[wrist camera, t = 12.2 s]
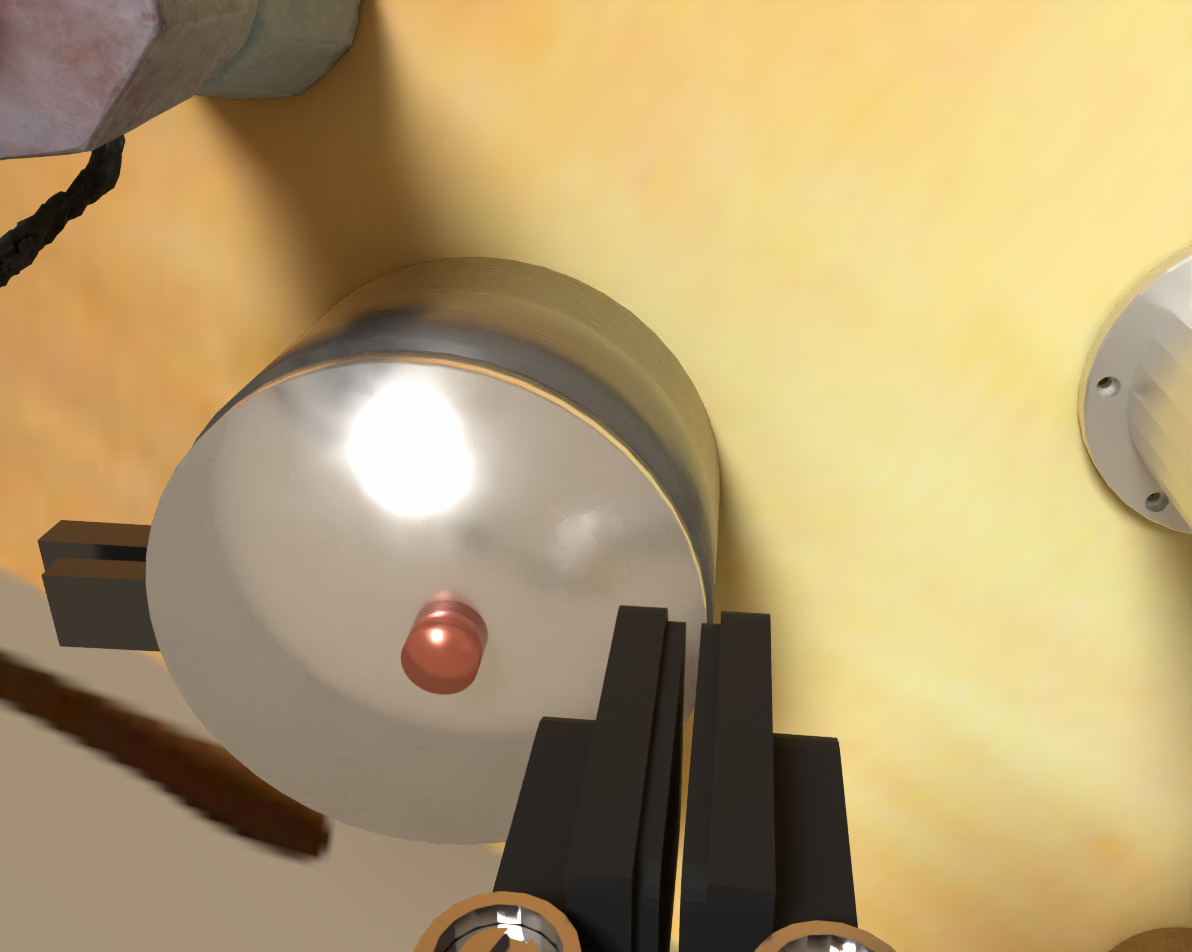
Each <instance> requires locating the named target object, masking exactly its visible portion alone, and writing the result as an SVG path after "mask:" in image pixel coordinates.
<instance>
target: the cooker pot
mask: <svg viewBox="0 0 1192 952" xmlns="http://www.w3.org/2000/svg"><path fill="white" fill-rule="evenodd" d="M385 350H419V351H430V352H441V353H450V354H455V355H460V356H464V357H469V358H473V359H478V360H483V361H487V362H491V363H494V364H496V365H499V366H502V367H505V368H508V369H511V370H514V371H517V372H520V373H522V374H525V375H528V376H530V377H532V378H534V379H536V380H538V381H540V382H542V383H544V384H546V385H548V386H550V387H552V388H554V389H556V390H558V391H561V392H563V393H564V394H566V395H567V396H569V397H570V398H572V399H574V400H575V401H577V402H578V403H580V404H581V405H583V406H584V407H586V408H587V409H589V410H590V411H592V412H594V413H595V414H597V415H598V416H599V417H600V418H601V419H603V420H604V421H605V422H606V423H607V424H608V425H610V426H611V427H612V428H613V429H614V430H616V431H617V432H618V433H619V434H620V435H622V436H623V437H624V438H625V439H626V440H627V441H628V442H629V443H630V444H631V445H632V446H633V447H634V448H635V450H636V451H637V452H638V453H639V454H640V455H641V456H642V457H643V458H644V459H645V460H646V461H647V463H648V464H649V465H650V466H651V467H652V468H653V470H654V471H655V472H656V474H657V475H658V477H659V478H660V480H661V481H662V482H663V484H664V485H665V487H666V488H667V490H668V491H669V492H670V494H671V495H672V497H673V498H674V500H675V502H676V504H677V506H678V508H679V510H680V512H681V514H682V516H683V518H684V520H685V522H686V524H687V526H688V528H689V530H690V533H691V536H692V539H693V542H694V545H695V547H696V550H697V553H698V556H699V559H700V563H701V569H702V574H703V579H704V585H705V590H706V612H707V623H711V624H712V623H713V607H714V590H715V573H716V556H717V538H718V521H719V504H720V466H719V460H718V454H717V448H716V442H715V437H714V434H713V431H712V428H711V425H710V422H709V418H708V415H707V412H706V409H705V407H704V405H703V403H702V401H701V399H700V397H699V395H698V393H697V391H696V389H695V387H694V385H693V383H692V381H691V380H690V378H689V377H688V375H687V374H686V372H685V370H684V369H683V367H682V366H681V364H680V363H679V361H678V360H677V358H676V357H675V356H674V355H673V354H672V352H671V351H670V350H669V349H668V348H667V347H666V345H665V344H664V343H663V342H662V341H661V340H660V339H659V337H658V336H657V335H656V334H655V333H654V332H653V331H652V330H651V329H649V328H648V327H647V326H646V325H645V324H644V323H643V322H642V321H640V320H639V319H638V318H637V317H636V316H635V315H634V314H633V313H632V312H630V311H629V310H627V309H626V308H624V307H623V306H621V305H620V304H618V303H617V302H616V301H614V300H613V299H611V298H610V297H608V296H607V295H605V294H604V293H602V292H600V291H598V290H596V289H594V288H592V287H590V286H588V285H586V284H584V283H582V282H580V281H578V280H577V279H574V278H572V277H569V276H566V275H563V274H561V273H558V272H555V271H552V270H550V269H547V268H544V267H540V266H535V265H531V264H527V263H522V262H518V261H513V260H504V259H494V258H483V257H471V258H447V259H442V260H436V261H430V262H424V263H418V264H415V265H412V266H409V267H406V268H402V269H399V270H396V271H393V272H390V273H388V274H385V275H383V276H381V277H379V278H377V279H375V280H373V281H371V282H369V283H367V284H365V285H363V286H361V287H360V288H358V289H357V290H355V291H354V292H352V293H351V294H349V295H348V296H347V297H345V298H344V299H342V300H341V301H339V302H338V303H337V304H336V305H335V306H334V307H332V308H331V309H330V310H329V311H328V312H327V313H326V314H325V315H324V316H323V317H321V318H320V319H319V320H318V321H317V322H316V323H315V324H314V325H313V326H311V327H310V328H309V329H308V330H307V331H306V332H305V333H304V334H303V335H302V336H300V337H299V338H298V339H297V340H296V341H295V342H294V343H293V344H292V345H291V346H289V347H288V348H287V349H286V350H285V351H284V352H283V353H282V354H281V355H279V356H278V357H277V358H276V359H275V360H274V361H273V362H272V363H271V364H270V365H268V366H267V367H266V368H265V369H264V370H263V371H262V372H261V373H260V374H259V375H257V376H256V377H255V378H254V379H253V380H252V381H251V382H250V383H249V384H247V385H246V386H245V387H244V388H243V389H242V390H241V391H240V392H239V393H238V394H237V395H235V396H234V397H233V398H232V399H231V400H230V401H229V402H228V403H227V404H226V405H225V406H224V407H223V408H222V409H220V410H219V411H218V412H217V413H216V414H215V416H214V417H213V418H212V419H211V421H210V422H209V423H208V425H207V426H206V427H205V429H204V430H203V431H202V432H201V434H200V435H199V436H198V438H197V439H196V441H195V443H196V442H197V440H198V439H199V438H200V437H201V436H202V435H204V434H205V433H206V432H207V431H208V430H209V429H210V428H211V427H212V426H213V425H214V424H215V423H216V422H217V421H218V420H219V419H220V418H221V417H222V416H223V415H224V414H225V413H227V412H228V411H229V410H230V409H231V408H232V407H233V406H234V405H235V404H236V403H237V402H239V401H240V400H242V399H243V398H245V397H246V396H248V395H249V394H251V393H252V392H254V391H255V390H257V389H258V388H260V387H261V386H263V385H264V384H266V383H268V382H270V381H272V380H274V379H276V378H278V377H280V376H282V375H284V374H287V373H289V372H291V371H293V370H295V369H297V368H300V367H303V366H306V365H310V364H313V363H316V362H319V361H322V360H326V359H329V358H332V357H338V356H343V355H349V354H355V353H361V352H367V351H385ZM195 443H194V444H195ZM194 444H193V445H194ZM192 447H193V446H192ZM150 530H151V525H134V524H118V523H101V522H84V521H67V520H61V521H60V522H58V523H57V524H56V525H55V526H54V527H53V528H51V529H50V530H49V531H48V532H47V533H46V534H44V535H43V536H42V537H41V538H40V539H39V540H37V541H38V545H39V549H40V552H41V556H42V560H43V564H44V568H45V571H46V570H47V569H48V568H49V567H50V566H52V565H53V564H54V563H55V562H56V561H57V560H58V559H59V558H73V559H95V560H117V561H139V562H146V553H147V547H148V541H149V535H150Z"/></svg>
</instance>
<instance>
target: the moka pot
mask: <svg viewBox="0 0 1192 952" xmlns="http://www.w3.org/2000/svg"><path fill="white" fill-rule="evenodd" d="M360 4H361V0H0V160H5V159H18V158H32V157H45V156H57V155H69V154H75V153H81V152H87V151H92V154H91V157H90V160H89V163H88V165H87V166H86V168H85V169H83V170H81V172H80V174H79V175H78V176H77V177H76V179H75V180H74V181H73V183H72V184H71V185H70V187H69V188H68V190H67V191H66V192H62V191H60V192H59V193H57V194H55V195H53V196H52V197H50V198H49V199H48V200H47V201H46V203H45V204H42V205H41V206H40V208H39V209H38V210H37V212H36V213H35V214H34V215H33V216H31V217H29V218H26V219H24V220H22V221H20V222H18V223H17V226H16V227H15V228H14V229H13V230H9V231H8V232H7V233H6V234H5V235H3V236H2V237H1V238H0V287H2V286H6V285H7V283H8V281H9V279H10V278H11V277H12V276H14V275H17V274H19V273H20V271H21V270H23V269H24V268H26V267H27V266H29V265H31V264H32V262H33V261H34V259H35V258H36V256H37V255H38V252H39V251H40V250H41V249H43V248H44V246H45V245H47V244H50V243H52V241H53V240H54V239H55V237H56V236H57V235H58V234H59V233H60V232H61V231H62V230H63V229H64V227H65V225H66V223H67V222H68V221H69V220H71V219H74V218H77V217H79V216H81V215H82V213H83V212H84V210H85V208H86V207H87V205H90V204H93V203H95V202H96V201H97V200H98V199H99V198H100V197H101V196H102V195H104V194H106V193H107V192H108V191H110V190H111V189H113V188H114V187H115V185H116V182H117V180H118V178H119V175H120V169H121V160H122V152H123V148H124V144H125V138H124V134H125V133H127V132H129V131H131V130H133V129H135V128H137V127H138V126H140V125H142V124H143V123H145V122H147V121H148V120H150V119H152V118H154V117H155V116H157V115H159V114H161V113H163V112H165V111H167V110H169V109H171V108H173V107H174V106H176V105H178V104H180V103H182V102H184V101H185V100H187V99H189V98H191V97H193V96H194V95H202V96H207V97H212V98H225V99H233V100H235V99H269V98H280V97H286V96H295V95H299V94H301V93H302V92H304V91H305V90H306V89H308V88H309V87H310V86H312V85H313V84H314V83H315V82H316V81H317V80H318V79H319V78H320V77H322V76H323V75H324V74H325V73H326V72H327V71H328V70H329V69H330V68H331V67H332V66H333V65H334V64H335V63H336V62H337V61H338V60H339V59H340V58H341V57H342V56H343V54H344V53H345V52H347V51H348V50H349V48H350V47H351V45H352V42H353V38H354V35H355V31H356V28H357V23H358V18H359V8H360Z"/></svg>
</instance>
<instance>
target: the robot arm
mask: <svg viewBox="0 0 1192 952" xmlns="http://www.w3.org/2000/svg"><path fill="white" fill-rule="evenodd" d="M1105 377H1109V379H1108V381H1107V382H1106V383H1104V384H1101V385H1099V384H1098V382H1099V381H1100V380H1102V379H1103V378H1105ZM1078 415H1079V421H1080V426H1081V431H1082V437H1083V441H1084V443H1085V445H1086V448H1087V450H1088V452H1089V455H1090V457H1091V459H1092V461H1093V464H1094V465H1095V467H1096V468H1097V470H1098V471H1099V473H1100V474H1101V476H1102V477H1103V479H1104V481H1105V482H1106V484H1107V485H1108V486H1109V487H1110V488H1111V489H1112V490H1113V491H1114V492H1115V493H1116V494H1117V496H1118V497H1119V498H1120V499H1121V500H1122V501H1123V502H1124V503H1125V504H1126V505H1128V506H1129V507H1130V508H1132V509H1133V510H1135V511H1136V512H1137V513H1139V514H1140V515H1142V516H1143V517H1145V518H1147V519H1148V520H1151V521H1153V522H1155V523H1158V524H1160V525H1163V526H1165V527H1167V528H1170V529H1172V530H1174V531H1178V532H1183V533H1187V534H1192V246H1190V247H1188V248H1186V249H1184V250H1182V251H1180V252H1178V253H1176V254H1174V255H1173V256H1171V257H1170V258H1168V259H1167V260H1166V261H1164V262H1163V263H1161V264H1160V265H1159V266H1157V267H1156V268H1155V269H1153V270H1152V271H1150V272H1149V273H1148V274H1146V275H1145V276H1144V277H1143V278H1142V279H1141V280H1140V281H1139V282H1138V283H1137V284H1136V285H1135V286H1134V287H1133V288H1132V289H1131V290H1130V291H1129V292H1128V293H1127V294H1126V295H1125V296H1124V297H1123V298H1122V299H1121V300H1120V301H1119V302H1118V303H1117V305H1116V306H1115V308H1114V309H1113V310H1112V312H1111V313H1110V315H1109V316H1108V317H1107V319H1106V320H1105V322H1104V323H1103V324H1102V326H1101V327H1100V329H1099V331H1098V333H1097V335H1096V337H1095V340H1094V342H1093V344H1092V346H1091V348H1090V350H1089V352H1088V354H1087V357H1086V361H1085V365H1084V369H1083V373H1082V376H1081V380H1080V384H1079V405H1078ZM1153 493H1155V494H1154V495H1153V496H1151V497H1148V496H1150V495H1151V494H1153ZM685 652H686V622H678V621H668V608H661V607H644V606H628V605H620V606H619V609H618V613H617V618H616V623H615V628H614V633H613V638H612V643H611V648H610V653H609V658H608V662H607V667H606V672H605V677H604V682H603V687H602V692H601V697H600V702H599V707H598V712H597V717H596V720H587V719H573V718H560V717H546V716H543V717H542V719H541V720H540V722H539V725H538V728H537V731H536V735H535V739H534V742H533V746H532V750H531V753H530V757H529V761H528V764H527V768H526V772H525V775H524V779H523V783H522V786H521V790H520V794H519V797H518V801H517V805H516V808H515V812H514V815H513V819H512V823H511V826H510V830H509V834H508V837H507V841H506V845H505V848H504V852H503V856H502V859H501V863H500V867H499V870H498V874H497V878H496V881H495V885H494V889H493V892H492V893H487V894H480V895H476V896H473V897H471V898H468V899H466V900H464V901H461V902H459V903H456V904H454V905H453V906H451V907H450V908H449V909H447V910H446V911H445V912H443V913H442V914H441V915H439V916H438V917H437V918H435V919H434V920H433V922H432V923H431V924H430V926H429V927H428V928H427V930H426V931H425V933H424V934H423V935H422V937H421V938H420V940H419V942H418V944H417V946H416V947H415V950H414V951H413V952H670V940H671V928H672V916H673V905H674V893H675V881H676V869H677V857H678V846H679V833H680V815H681V785H682V752H683V719H684V685H685ZM679 952H896V951H895V950H894V949H893V948H892V947H891V946H890V945H888V944H886V943H885V942H883V941H882V940H880V939H879V938H877V937H875V936H874V935H872V934H871V933H869V932H867V931H864V930H862V929H859V928H858V924H857V914H856V904H855V894H854V884H853V875H852V865H851V855H850V845H849V835H848V825H847V815H846V806H845V796H844V786H843V776H842V766H841V756H840V748H839V742H838V740H837V738H832V737H818V736H805V735H791V734H778V733H773V726H772V676H771V626H770V614H759V613H743V612H726V611H721V624H711V623H702V624H701V635H700V647H699V660H698V673H697V685H696V698H695V711H694V723H693V736H692V748H691V761H690V774H689V786H688V799H687V812H686V824H685V837H684V849H683V863H682V879H681V899H680V928H679Z"/></svg>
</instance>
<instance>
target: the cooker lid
mask: <svg viewBox="0 0 1192 952" xmlns="http://www.w3.org/2000/svg"><path fill="white" fill-rule="evenodd" d="M42 579H43V583H44V586H45V590H46V594H47V598H48V602H49V606H50V610H51V613H52V617H53V621H54V625H55V629H56V633H57V637H58V640H59V644H60V646H66V647H85V648H104V649H123V650H142V651H161V654H162V656H163V658H164V661H165V663H166V665H167V667H168V670H169V672H170V674H171V676H172V678H173V680H174V682H175V683H176V685H177V686H178V688H179V690H180V691H181V693H182V695H183V697H184V698H185V700H186V702H187V703H188V705H189V706H190V707H191V709H192V710H193V711H194V713H195V714H196V715H197V717H199V719H200V720H201V722H202V723H203V724H204V726H205V727H206V728H207V730H208V731H209V732H210V733H211V734H212V735H213V736H214V737H215V738H216V739H217V740H218V741H219V742H220V743H221V744H222V745H223V746H224V747H225V748H226V749H227V750H228V752H229V753H230V754H232V755H233V756H234V757H235V758H236V759H238V760H239V761H240V762H241V763H242V764H243V765H245V766H246V767H247V768H248V769H249V770H251V771H252V772H253V773H254V774H255V775H257V776H258V777H260V778H261V779H263V780H264V781H265V782H267V783H268V784H270V785H271V786H273V787H274V788H276V789H277V790H279V791H280V792H282V793H283V794H285V795H287V796H288V797H290V798H292V799H294V800H296V801H298V802H299V803H301V804H303V805H305V806H307V807H309V808H310V809H312V810H314V811H317V812H319V813H321V814H324V815H326V816H328V817H331V818H333V819H335V820H338V821H340V822H343V823H345V824H348V825H351V826H355V827H358V828H361V829H365V830H367V831H370V832H373V833H378V834H382V835H387V836H391V837H396V838H401V839H405V840H411V841H420V842H428V843H438V844H485V843H497V842H506V841H507V837H508V834H509V830H510V826H511V823H512V819H513V815H514V812H515V808H516V805H517V801H518V797H519V794H520V790H521V786H522V783H523V779H524V775H525V772H526V768H527V764H528V761H529V757H530V753H531V750H532V746H533V742H534V739H535V735H536V731H537V728H538V725H539V722H540V720H541V719H542V717H543V716H546V717H560V718H573V719H587V720H596V717H597V712H598V707H599V702H600V697H601V692H602V687H603V682H604V677H605V672H606V667H607V662H608V658H609V653H610V648H611V643H612V638H613V633H614V628H615V623H616V618H617V613H618V609H619V606H620V605H628V606H644V607H661V608H668V621H678V622H686V652H685V685H684V719H683V727H684V725H685V723H686V721H687V719H688V717H689V715H690V713H691V711H692V708H693V706H694V704H695V698H696V685H697V673H698V660H699V647H700V635H701V624H702V623H707V612H706V590H705V585H704V579H703V574H702V569H701V563H700V559H699V556H698V553H697V550H696V547H695V545H694V542H693V539H692V536H691V533H690V530H689V528H688V526H687V524H686V522H685V520H684V518H683V516H682V514H681V512H680V510H679V508H678V506H677V504H676V502H675V500H674V498H673V497H672V495H671V494H670V492H669V491H668V490H667V488H666V487H665V485H664V484H663V482H662V481H661V480H660V478H659V477H658V475H657V474H656V472H655V471H654V470H653V468H652V467H651V466H650V465H649V464H648V463H647V461H646V460H645V459H644V458H643V457H642V456H641V455H640V454H639V453H638V452H637V451H636V450H635V448H634V447H633V446H632V445H631V444H630V443H629V442H628V441H627V440H626V439H625V438H624V437H623V436H622V435H620V434H619V433H618V432H617V431H616V430H614V429H613V428H612V427H611V426H610V425H608V424H607V423H606V422H605V421H604V420H603V419H601V418H600V417H599V416H598V415H597V414H595V413H594V412H592V411H590V410H589V409H587V408H586V407H584V406H583V405H581V404H580V403H578V402H577V401H575V400H574V399H572V398H570V397H569V396H567V395H566V394H564V393H563V392H561V391H558V390H556V389H554V388H552V387H550V386H548V385H546V384H544V383H542V382H540V381H538V380H536V379H534V378H532V377H530V376H528V375H525V374H522V373H520V372H517V371H514V370H511V369H508V368H505V367H502V366H499V365H496V364H494V363H491V362H487V361H483V360H478V359H473V358H469V357H464V356H460V355H455V354H450V353H441V352H430V351H419V350H385V351H367V352H361V353H355V354H349V355H343V356H338V357H332V358H329V359H326V360H322V361H319V362H316V363H313V364H310V365H306V366H303V367H300V368H297V369H295V370H293V371H291V372H289V373H287V374H284V375H282V376H280V377H278V378H276V379H274V380H272V381H270V382H268V383H266V384H264V385H263V386H261V387H260V388H258V389H257V390H255V391H254V392H252V393H251V394H249V395H248V396H246V397H245V398H243V399H242V400H240V401H239V402H237V403H236V404H235V405H234V406H233V407H232V408H231V409H230V410H229V411H228V412H227V413H225V414H224V415H223V416H222V417H221V418H220V419H219V420H218V421H217V422H216V423H215V424H214V425H213V426H212V427H211V428H210V429H209V430H208V431H207V432H206V433H205V434H204V435H202V436H201V437H200V438H199V439H198V440H197V442H196V443H195V444H194V445H193V447H192V448H191V449H190V451H189V452H188V453H187V454H186V456H185V457H184V458H183V460H182V461H181V462H180V463H179V465H178V466H177V467H176V469H175V471H174V473H173V475H172V477H171V478H170V480H169V482H168V484H167V486H166V488H165V490H164V491H163V493H162V495H161V498H160V501H159V504H158V507H157V510H156V513H155V515H154V518H153V521H152V524H151V530H150V535H149V541H148V547H147V553H146V562H139V561H117V560H95V559H73V558H59V559H58V560H57V561H56V562H55V563H54V564H53V565H52V566H50V567H49V568H48V569H47V570H46V571H45V572H44V573H43V574H42Z"/></svg>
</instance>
